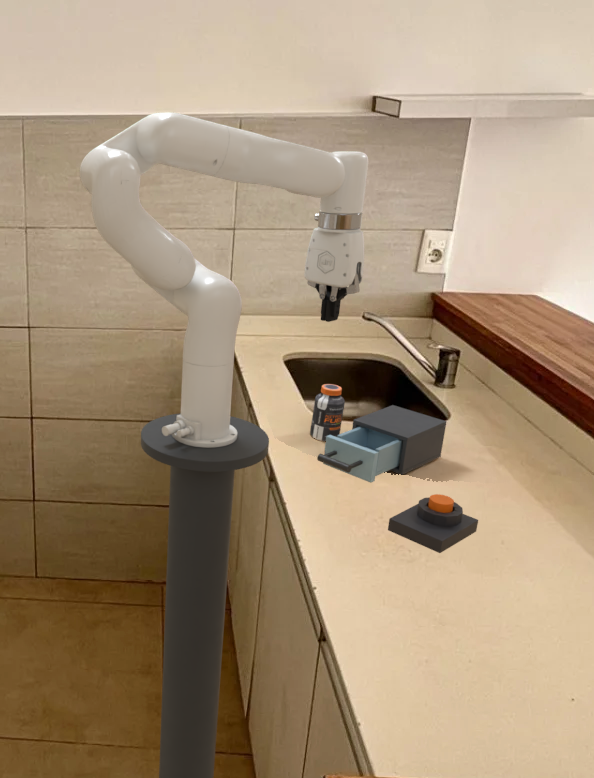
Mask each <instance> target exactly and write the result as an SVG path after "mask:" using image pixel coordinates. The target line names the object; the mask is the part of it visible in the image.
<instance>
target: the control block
mask: <svg viewBox="0 0 594 778" xmlns="http://www.w3.org/2000/svg"><path fill="white" fill-rule="evenodd" d="M429 499H430V496H429V497H423V498H421V499H420V500H418V503H417V504H415V505H413V506H411V507H409V508H407V509H405V510H402V511H401V512H399V513H398V514H395V515H393V516H392V517H390V518H389V519H388V525H387V526H388V527H387V531H389V532H391V533H393V534H396V535H398V536H400V537H401V538H404V539H406V540H409V541H411V542H413V543H416V544H418V545H420V546H423V547H425V548H426V549H429V550H431V551H434V552H435V553H439V554H442V553H443V552H445V551H447V550H448V549H449V548H452V547H453V546H455V545H456V544H458V543H459V542H461V541H463V540H464V539H466V538H469V537H470V536H471V535H473V534H475V533H476V532H477V530H478V529H477V528H478V525H479V519H477V518H474V517H472V516H470V515H467V514H464V511H463V507H462V506H461V505H460V504H458V503H457V502H456V501H454V505H453V510H452V512H451V513H442V512H437V511H434V510H432V509H430V508H429V507H428V504H429Z"/></svg>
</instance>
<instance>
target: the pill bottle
mask: <svg viewBox="0 0 594 778" xmlns="http://www.w3.org/2000/svg"><path fill="white" fill-rule="evenodd" d="M342 391H343V388H342V386H339V385H337V384H334V383H324V384H322V385H321V389H320V393H318V394H316V396H315V399H314V404H313V410H312V417H311V423H310V430H309V435H310V436H311V438H313V439H314V438H315V440H317V441H321V442H325V441H326V436H328V435H332V436H335V437H337V435H339V434H341V429H342V421H343V416H344V411H345V403H346V401H345V399H344V397H343V396H342Z"/></svg>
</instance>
